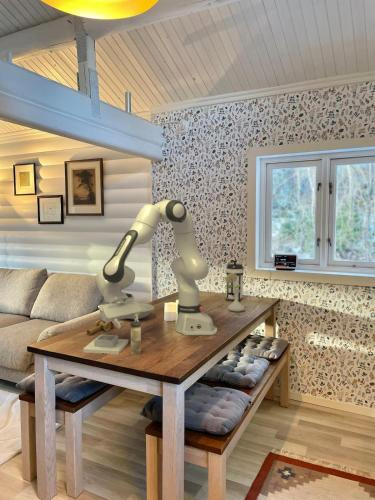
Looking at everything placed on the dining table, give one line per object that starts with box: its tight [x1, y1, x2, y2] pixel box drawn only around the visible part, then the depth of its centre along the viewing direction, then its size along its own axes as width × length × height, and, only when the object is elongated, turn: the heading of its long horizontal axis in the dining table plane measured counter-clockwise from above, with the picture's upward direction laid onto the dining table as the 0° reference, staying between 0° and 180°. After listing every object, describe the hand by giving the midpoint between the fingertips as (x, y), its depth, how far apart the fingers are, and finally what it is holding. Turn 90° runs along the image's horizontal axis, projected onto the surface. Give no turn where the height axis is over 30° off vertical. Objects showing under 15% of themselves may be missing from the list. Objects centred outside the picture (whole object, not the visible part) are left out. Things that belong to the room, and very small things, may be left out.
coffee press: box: [225, 259, 245, 303], centre depth 277 cm, size 17×16×30 cm
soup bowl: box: [125, 302, 155, 320], centre depth 224 cm, size 24×24×7 cm
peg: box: [130, 321, 142, 356], centre depth 164 cm, size 5×5×13 cm
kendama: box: [86, 319, 115, 336], centre depth 197 cm, size 8×6×18 cm
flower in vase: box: [225, 273, 246, 313], centre depth 245 cm, size 13×11×25 cm
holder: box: [82, 334, 129, 355], centre depth 171 cm, size 16×16×4 cm
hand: (129, 325), depth 167 cm, fingers open, 8 cm apart
